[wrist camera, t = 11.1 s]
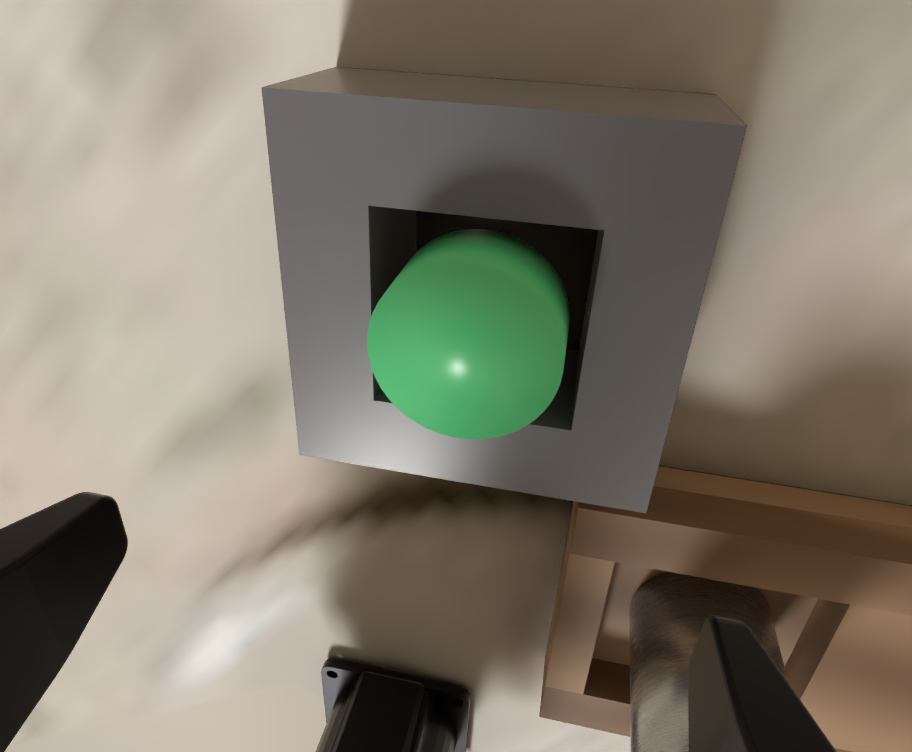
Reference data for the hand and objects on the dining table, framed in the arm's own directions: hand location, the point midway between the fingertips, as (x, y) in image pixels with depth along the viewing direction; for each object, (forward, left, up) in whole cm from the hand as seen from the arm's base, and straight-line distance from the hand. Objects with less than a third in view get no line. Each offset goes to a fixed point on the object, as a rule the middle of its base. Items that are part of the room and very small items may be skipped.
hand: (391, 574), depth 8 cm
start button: (0, 0, -8) cm, 8 cm away
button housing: (0, 0, -11) cm, 11 cm away
